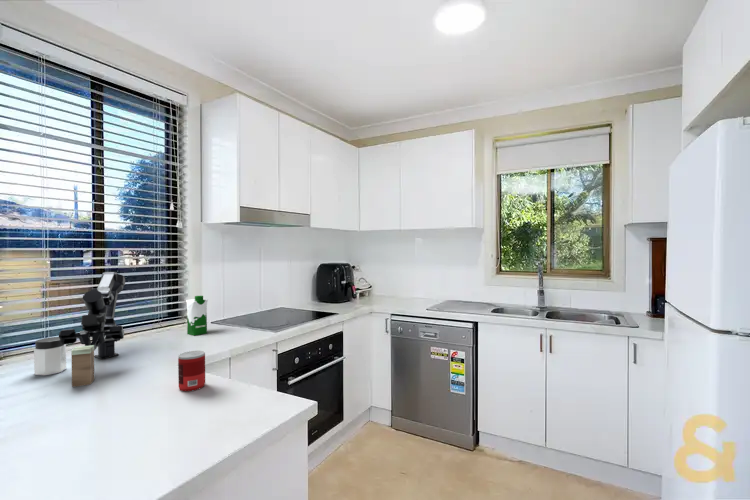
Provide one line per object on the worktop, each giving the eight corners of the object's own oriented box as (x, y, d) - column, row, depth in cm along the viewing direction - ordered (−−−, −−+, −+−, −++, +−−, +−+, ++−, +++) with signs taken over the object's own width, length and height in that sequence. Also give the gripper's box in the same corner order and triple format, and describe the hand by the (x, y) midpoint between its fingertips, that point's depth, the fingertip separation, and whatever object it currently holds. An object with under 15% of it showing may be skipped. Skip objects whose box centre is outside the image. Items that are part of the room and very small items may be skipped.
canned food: (210, 384, 124) (210, 351, 124) (191, 393, 117) (191, 358, 117) (192, 381, 127) (192, 349, 127) (173, 390, 119) (172, 356, 119)
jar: (58, 374, 135) (58, 341, 134) (30, 377, 132) (30, 343, 132) (69, 366, 143) (69, 335, 143) (43, 369, 140) (42, 337, 140)
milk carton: (193, 336, 190) (193, 297, 190) (184, 334, 195) (184, 296, 195) (209, 333, 197) (209, 295, 197) (200, 330, 202) (200, 294, 202)
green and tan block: (76, 381, 127) (76, 346, 127) (94, 379, 129) (93, 345, 129) (71, 386, 123) (71, 350, 122) (90, 384, 125) (90, 348, 125)
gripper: (60, 307, 133) (48, 345, 123) (122, 304, 141) (116, 339, 131) (67, 325, 140) (57, 362, 130) (126, 321, 148) (121, 356, 138)
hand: (88, 354), depth 132 cm, fingers closed
